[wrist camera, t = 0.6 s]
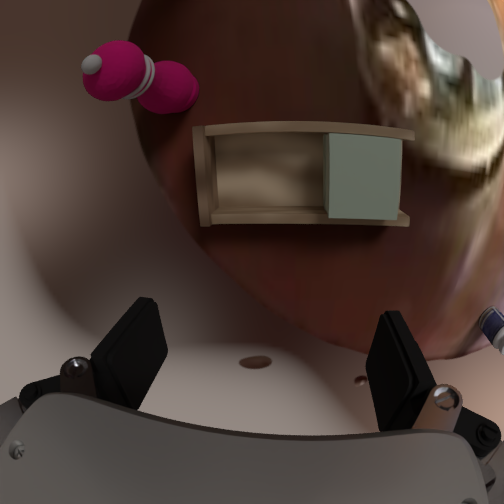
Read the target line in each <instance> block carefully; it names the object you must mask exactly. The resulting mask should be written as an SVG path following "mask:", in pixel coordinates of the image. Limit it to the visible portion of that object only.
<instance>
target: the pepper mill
mask: <svg viewBox="0 0 504 504" xmlns="http://www.w3.org/2000/svg"><path fill="white" fill-rule="evenodd" d="M81 67H82V71H83V84H84V87H85V89H86V91H87V92H88V93H89V94H90V95H91V96H93V97H94V98H96V99H99V100H102V101H115V100H118V99H121V98H123V99H133V98H136V97H137V99H138V101H139V103H140V104H141V105H142V106H143V107H144V108H146V109H147V110H149V111H151V112H154V113H157V114H169V113H179V112H183V111H185V110H187V109H189V108H190V107H191V106H192V105H193V104H194V103H195V101H196V100H197V97H198V94H199V84H198V81H197V80H196V78H195V77H194V76H193V75H192V74H191V73H190V71H189V70H188V69H187V68H186V67H185V66H184V65H182V64H180V63H177V62H174V61H160V62H156V63H153V61H152V60H151V59H150V58H149V57H148V56H146V55H144V54H143V52H142V51H141V49H140V48H139V47H138V46H136V45H135V44H133V43H131V42H128V41H122V40H121V41H120V40H119V41H111V42H108V43H105V44H103V45H102V46H100V47H99V48H97V49H96V50H95V51H94V52H93V53H92V54H91V55H89V56H88V57H86V58H85V59H84V61H83V62H82V65H81Z"/></svg>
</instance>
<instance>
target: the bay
mask: <svg viewBox="0 0 504 504" xmlns="http://www.w3.org/2000/svg"><path fill="white" fill-rule="evenodd" d="M192 130H193V147H194V161H195V174H196V186H197V197H198V208H199V218H200V227H210V226H211V225H212V224H350V225H385V226H409V222H410V217H409V216H408V215H406V214H405V213H403V212H402V211H401V210H399V205H398V215H397V220H379V219H347V218H328V213H327V211H326V210H324V206H323V135H324V134H328V133H338V134H354V135H366V136H377V137H386V138H394V139H401V170H402V140H415V139H414V131H412V130H406V129H399V128H392V127H384V126H375V125H365V124H353V123H339V122H315V121H271V122H248V123H232V124H220V125H210V126H195V127H192ZM400 188H401V175H400ZM399 202H400V192H399Z"/></svg>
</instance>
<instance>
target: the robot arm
mask: <svg viewBox="0 0 504 504" xmlns="http://www.w3.org/2000/svg"><path fill="white" fill-rule="evenodd" d="M167 353H168V348H167V344H166V340H165V336H164V332H163V328H162V323H161V319H160V315H159V310H158V305H157V303H156V302H154V300H153V299H152V298H145V297H139V298H138V299H137V300H136V301H135V302H134V304H133V305H132V306H131V307H130V308H129V309H128V310H127V312H126V313H125V314H124V315H123V316H122V317H121V319H120V320H119V321H118V322H117V323H116V324H115V326H114V327H113V328H112V329H111V330H110V331H109V333H108V334H107V335H106V336H105V338H104V339H103V340H102V341H101V342H100V343H99V345H98V346H97V347H96V348H95V349H94V351H93V352H92V353H91V359H90V360H88V359H87V358H85V357H74V358H70V359H69V360H67V361H66V362H65V363H64V364H63V365H62V367H61V369H60V375H57V376H54V377H50V378H47V379H43V380H40V381H36V382H32V383H30V384H27V385H26V386H25V387H23V389H22V390H21V392H20V395H19V399H18V398H17V397H14V398H12V399H10V400H8V401H7V402H5V403H3V404H2V405H0V504H504V441H503V442H502V441H501V432H500V429H499V427H498V426H497V424H496V423H494V422H492V421H491V420H489V419H487V418H485V417H483V416H481V415H478V414H476V413H474V412H472V411H470V410H468V409H467V408H465V407H463V406H462V404H463V399H462V395H461V393H460V392H459V391H458V390H457V389H456V388H455V387H453V386H451V385H448V384H440V385H437V384H436V382H435V380H434V378H433V375H432V373H431V371H430V369H429V367H428V364H427V362H426V360H425V358H424V356H423V354H422V352H421V350H420V348H419V346H418V344H417V342H416V341H415V340H414V338H413V336H412V334H411V332H410V330H409V328H408V326H407V324H406V322H405V321H404V319H403V317H402V315H401V313H400V312H399V311H385V313H384V314H381V316H380V318H379V322H378V325H377V329H376V332H375V335H374V339H373V342H372V345H371V348H370V351H369V354H368V358H367V360H366V372H367V377H368V381H369V385H370V389H371V394H372V398H373V402H374V407H375V412H376V417H377V422H378V427H379V431H380V432H375V433H363V434H347V435H326V436H325V435H321V436H303V435H302V436H301V435H276V434H261V433H250V432H242V431H233V430H225V429H219V428H213V427H206V426H201V425H196V424H190V423H185V422H180V421H176V420H172V419H167V418H163V417H159V416H155V415H152V414H148V413H144V412H141V411H137V410H138V409H139V407H140V405H141V403H142V401H143V399H144V398H145V396H146V394H147V392H148V390H149V388H150V386H151V384H152V383H153V381H154V379H155V377H156V375H157V373H158V371H159V369H160V368H161V366H162V364H163V362H164V360H165V358H166V357H167Z"/></svg>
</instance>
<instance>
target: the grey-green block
mask: <svg viewBox="0 0 504 504" xmlns="http://www.w3.org/2000/svg"><path fill="white" fill-rule="evenodd" d="M400 175H401V139H394V138H386V137H377V136H366V135H354V134H338V133H328V134H324V135H323V206H324V210H326V211H327V213H328V218H347V219H379V220H397V215H398V205H399V192H400Z"/></svg>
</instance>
